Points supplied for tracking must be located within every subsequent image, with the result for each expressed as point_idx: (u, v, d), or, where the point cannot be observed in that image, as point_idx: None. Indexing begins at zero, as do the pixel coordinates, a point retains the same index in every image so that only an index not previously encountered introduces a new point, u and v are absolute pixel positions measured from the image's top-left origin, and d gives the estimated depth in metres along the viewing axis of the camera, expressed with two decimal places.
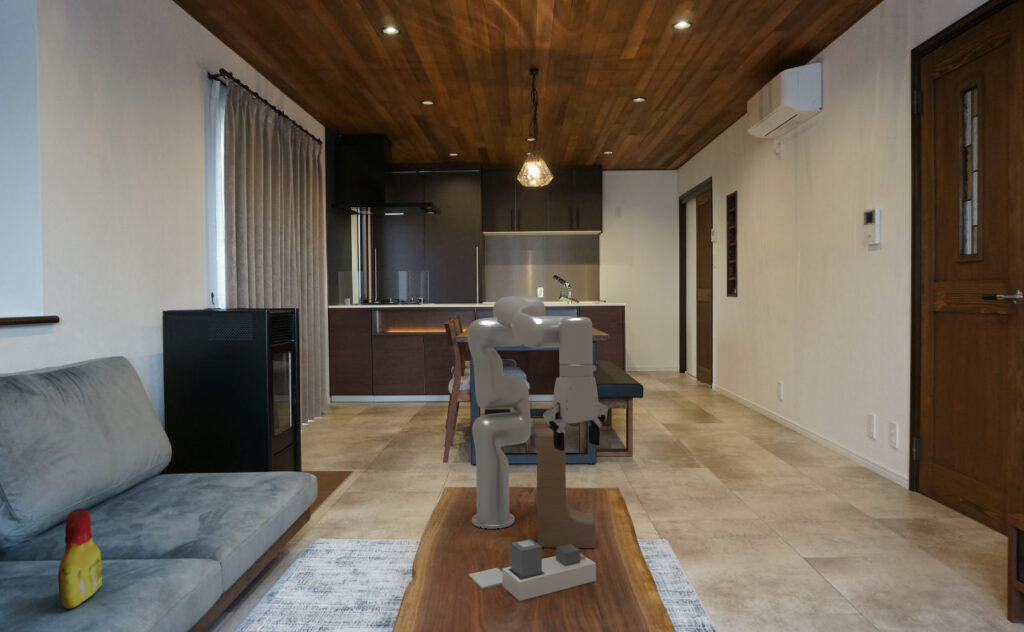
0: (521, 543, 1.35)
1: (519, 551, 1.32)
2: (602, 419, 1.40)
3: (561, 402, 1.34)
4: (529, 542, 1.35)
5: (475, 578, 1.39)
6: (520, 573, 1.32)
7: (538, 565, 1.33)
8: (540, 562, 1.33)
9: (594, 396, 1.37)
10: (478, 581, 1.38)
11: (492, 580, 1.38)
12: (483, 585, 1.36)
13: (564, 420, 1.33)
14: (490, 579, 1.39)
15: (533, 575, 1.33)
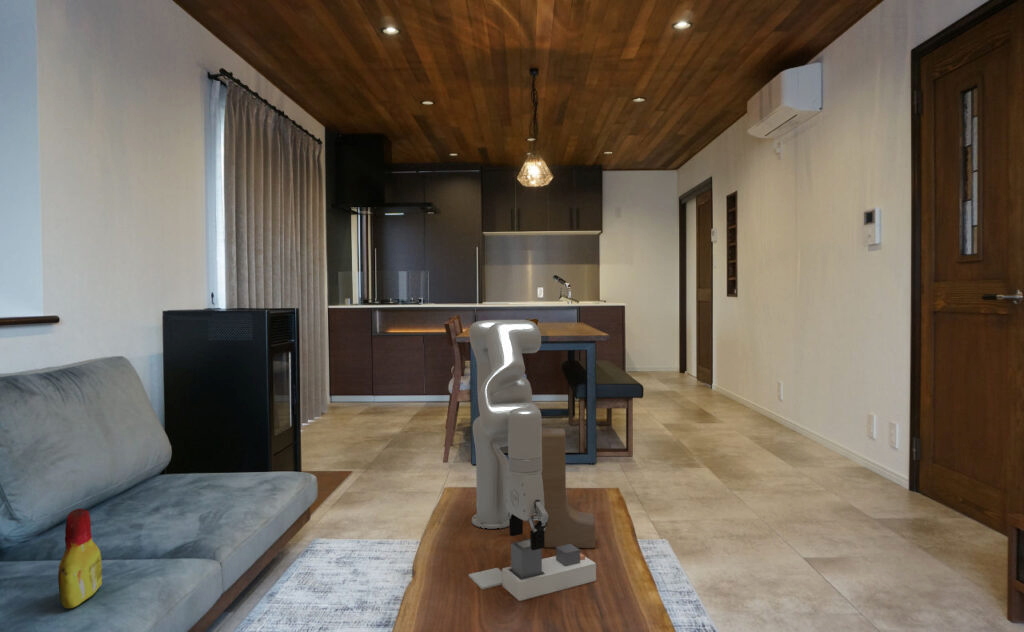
0: (521, 543, 1.35)
1: (519, 551, 1.32)
2: None
3: (541, 498, 1.30)
4: (529, 542, 1.35)
5: (475, 578, 1.39)
6: (520, 573, 1.32)
7: (538, 565, 1.33)
8: (540, 562, 1.33)
9: None
10: (478, 581, 1.38)
11: (492, 580, 1.38)
12: (483, 585, 1.36)
13: None
14: (490, 579, 1.39)
15: (533, 575, 1.33)
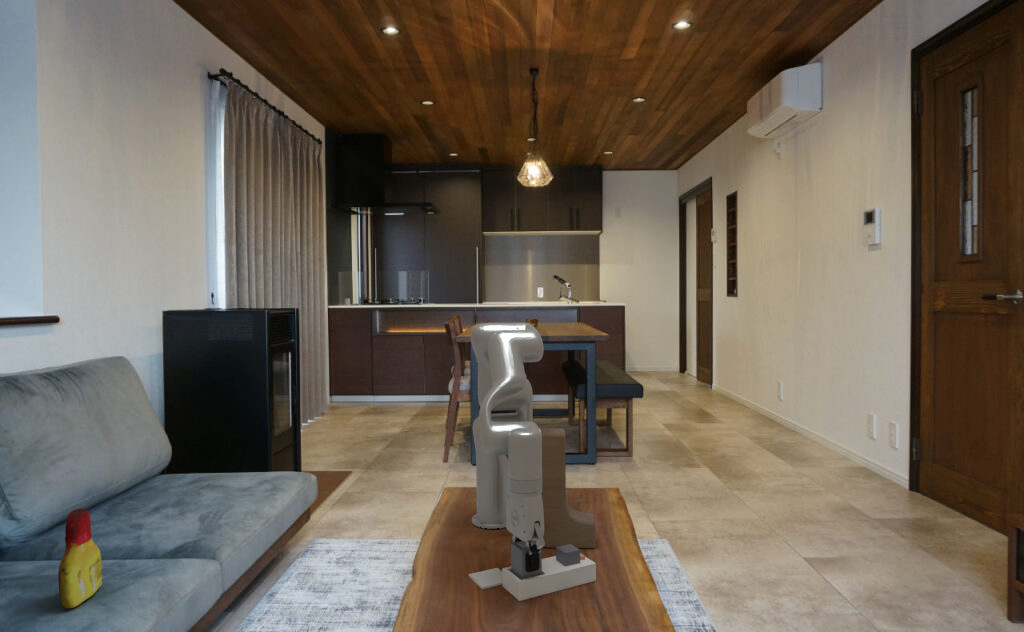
0: (521, 543, 1.35)
1: (519, 551, 1.32)
2: None
3: (541, 519, 1.31)
4: None
5: (475, 578, 1.39)
6: (520, 573, 1.32)
7: None
8: (540, 562, 1.33)
9: None
10: (478, 581, 1.38)
11: (492, 580, 1.38)
12: (483, 585, 1.36)
13: None
14: (490, 579, 1.39)
15: (533, 575, 1.33)
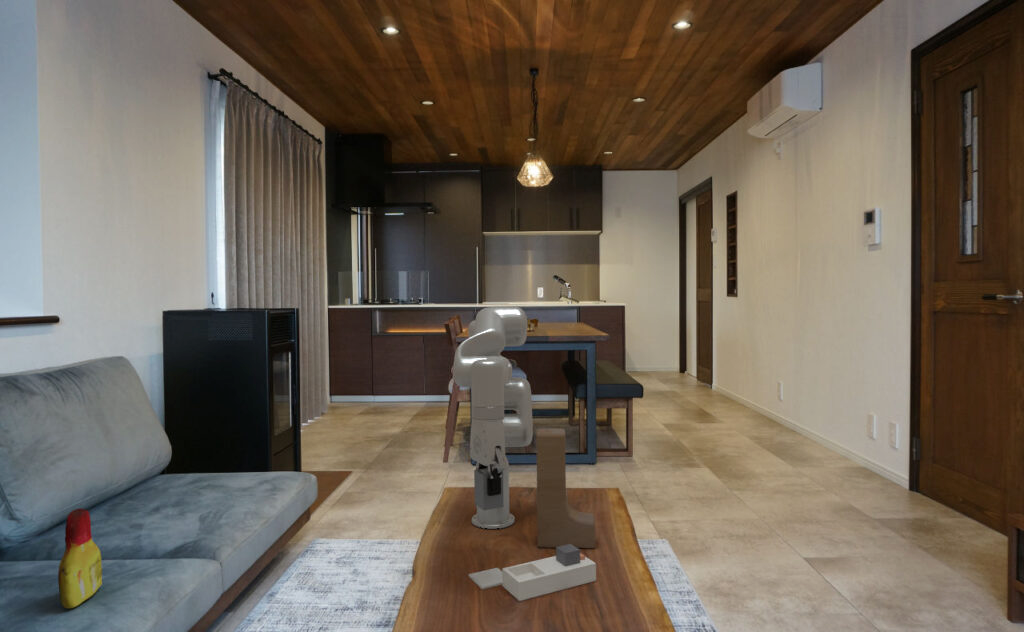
0: (484, 470, 1.40)
1: (481, 476, 1.37)
2: None
3: (502, 444, 1.36)
4: (492, 469, 1.40)
5: (475, 578, 1.39)
6: (482, 497, 1.37)
7: None
8: (502, 487, 1.38)
9: None
10: (478, 581, 1.38)
11: (492, 580, 1.38)
12: (483, 585, 1.36)
13: (504, 461, 1.36)
14: (490, 579, 1.39)
15: (495, 499, 1.38)
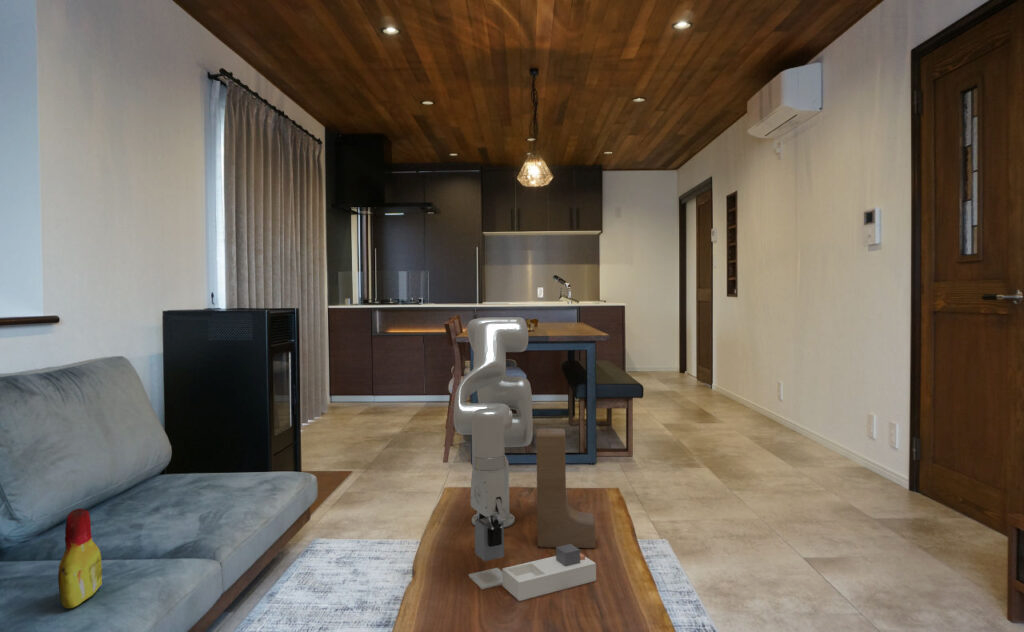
0: (484, 519, 1.40)
1: (482, 526, 1.37)
2: None
3: (503, 495, 1.36)
4: None
5: (475, 578, 1.39)
6: (482, 547, 1.37)
7: None
8: (502, 537, 1.38)
9: None
10: (478, 581, 1.38)
11: (492, 580, 1.38)
12: (483, 585, 1.36)
13: (504, 512, 1.36)
14: (490, 579, 1.39)
15: (495, 550, 1.38)
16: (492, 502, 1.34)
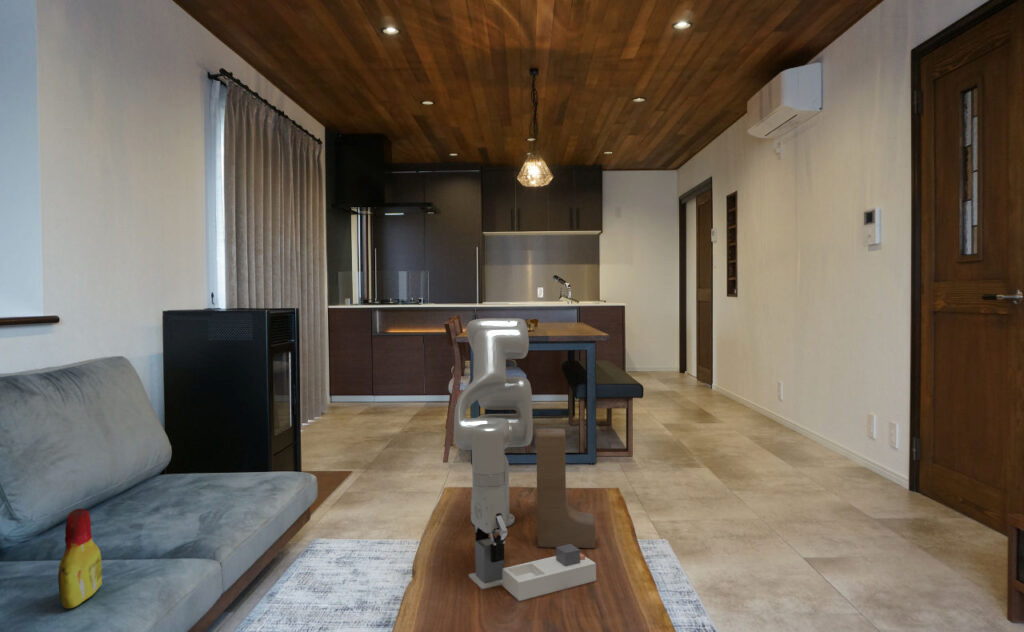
0: (485, 541, 1.40)
1: (482, 549, 1.38)
2: None
3: (503, 511, 1.36)
4: None
5: (475, 578, 1.39)
6: (483, 570, 1.37)
7: (500, 562, 1.39)
8: None
9: None
10: (478, 581, 1.38)
11: None
12: (483, 585, 1.36)
13: None
14: None
15: (495, 572, 1.38)
16: (492, 519, 1.35)
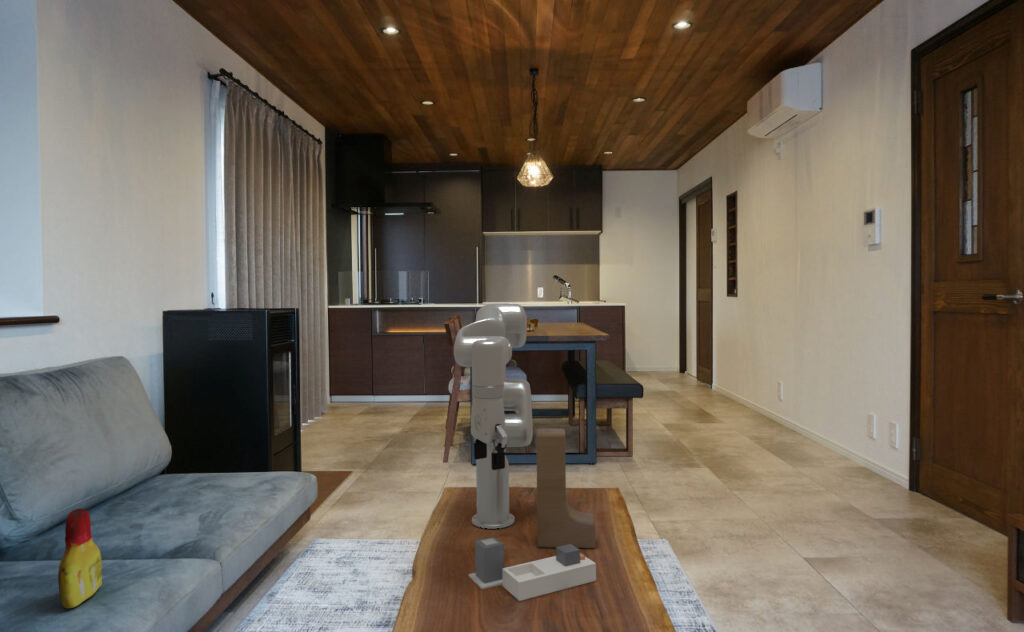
0: (485, 541, 1.40)
1: (482, 549, 1.38)
2: None
3: (502, 422, 1.39)
4: (492, 540, 1.41)
5: (475, 578, 1.39)
6: (483, 570, 1.37)
7: (500, 562, 1.39)
8: (502, 559, 1.39)
9: None
10: (478, 581, 1.38)
11: None
12: (483, 585, 1.36)
13: None
14: None
15: (495, 572, 1.38)
16: (492, 429, 1.38)
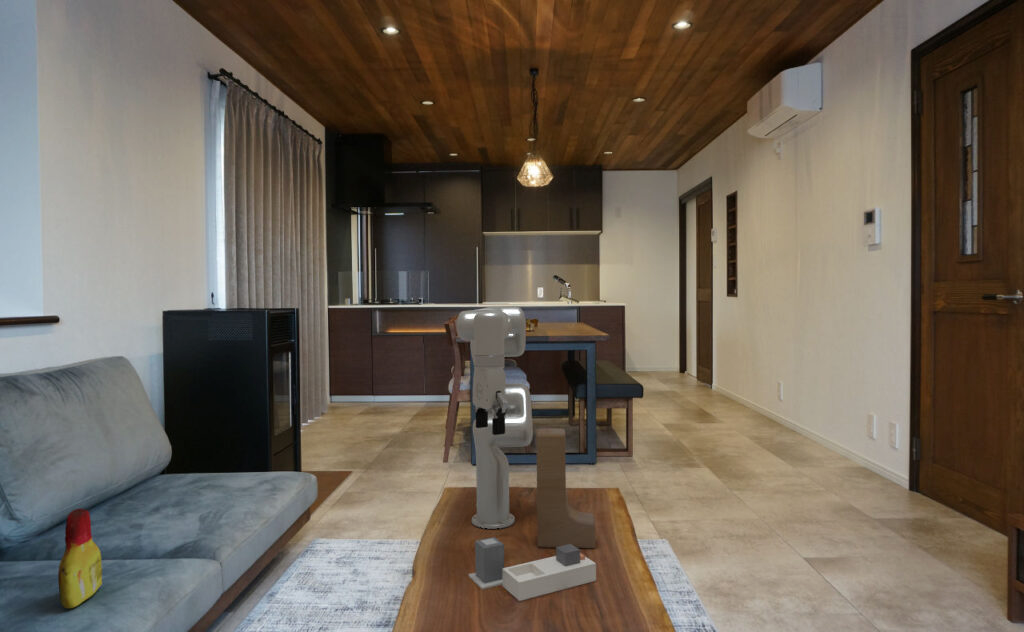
0: (485, 541, 1.40)
1: (482, 549, 1.38)
2: None
3: (502, 390, 1.46)
4: (492, 540, 1.41)
5: (475, 578, 1.39)
6: (483, 570, 1.37)
7: (500, 562, 1.39)
8: (502, 559, 1.39)
9: None
10: (478, 581, 1.38)
11: None
12: (483, 585, 1.36)
13: None
14: None
15: (495, 572, 1.38)
16: (492, 395, 1.45)
